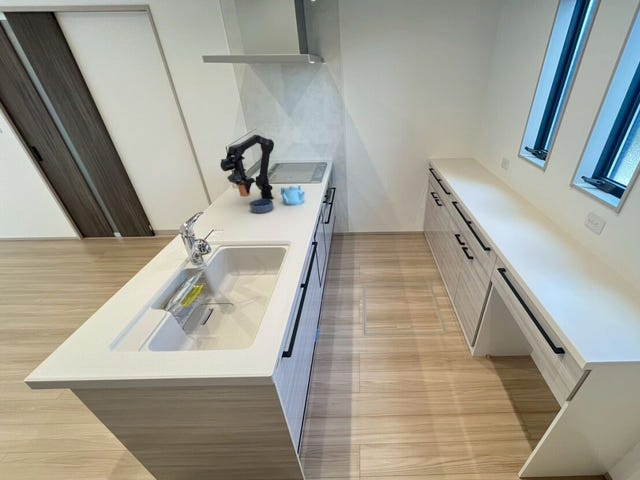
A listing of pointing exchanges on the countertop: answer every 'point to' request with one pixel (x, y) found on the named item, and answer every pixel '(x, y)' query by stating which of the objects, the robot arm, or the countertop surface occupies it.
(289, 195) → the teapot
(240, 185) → the cup
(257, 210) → the bowl
